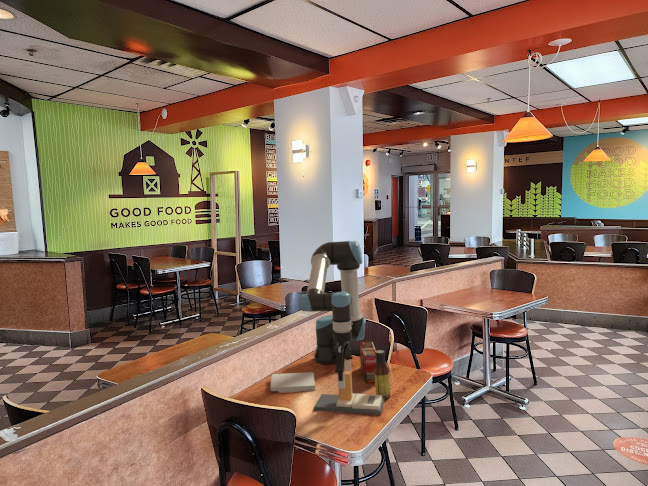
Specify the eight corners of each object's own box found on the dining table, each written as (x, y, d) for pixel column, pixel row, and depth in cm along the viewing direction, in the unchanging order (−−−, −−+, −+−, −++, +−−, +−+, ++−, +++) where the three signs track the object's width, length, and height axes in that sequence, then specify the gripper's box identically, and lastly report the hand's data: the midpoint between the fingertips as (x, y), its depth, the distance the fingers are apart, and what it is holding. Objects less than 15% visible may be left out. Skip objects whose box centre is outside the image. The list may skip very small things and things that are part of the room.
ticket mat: (321, 397, 186) (321, 390, 186) (384, 401, 180) (384, 393, 179) (314, 410, 175) (314, 403, 175) (380, 414, 168) (380, 407, 168)
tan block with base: (341, 395, 183) (340, 367, 182) (355, 396, 182) (353, 368, 180) (336, 406, 173) (334, 377, 172) (351, 407, 172) (349, 377, 171)
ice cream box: (379, 383, 197) (377, 355, 196) (365, 384, 197) (363, 356, 196) (373, 367, 217) (372, 341, 216) (360, 368, 217) (359, 342, 216)
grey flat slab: (313, 378, 209) (272, 380, 208) (313, 372, 209) (272, 374, 208) (314, 392, 194) (270, 394, 193) (314, 385, 194) (270, 387, 193)
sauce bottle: (393, 396, 184) (391, 351, 182) (384, 401, 179) (382, 355, 178) (381, 392, 188) (379, 348, 187) (372, 397, 184) (370, 352, 182)
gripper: (345, 340, 162) (348, 394, 163) (356, 322, 186) (359, 370, 188) (326, 339, 164) (329, 393, 165) (339, 322, 188) (342, 369, 189)
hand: (345, 381), depth 176 cm, fingers open, 13 cm apart
